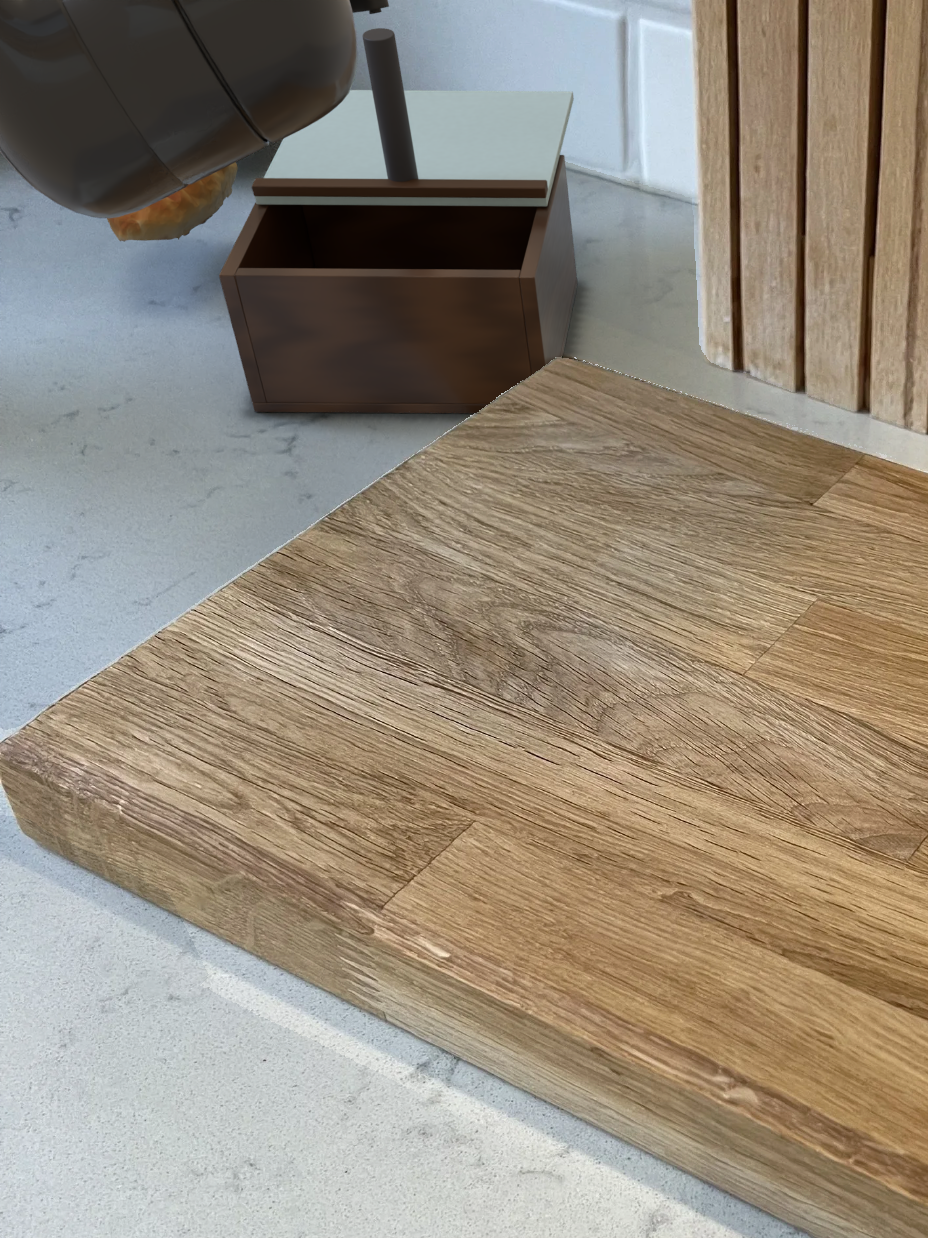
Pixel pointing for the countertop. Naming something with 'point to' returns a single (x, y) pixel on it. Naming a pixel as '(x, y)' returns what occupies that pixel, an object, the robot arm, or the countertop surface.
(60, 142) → the robot arm
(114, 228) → the pastry
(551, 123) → the glass door
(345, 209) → the case
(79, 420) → the countertop surface
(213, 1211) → the countertop surface
